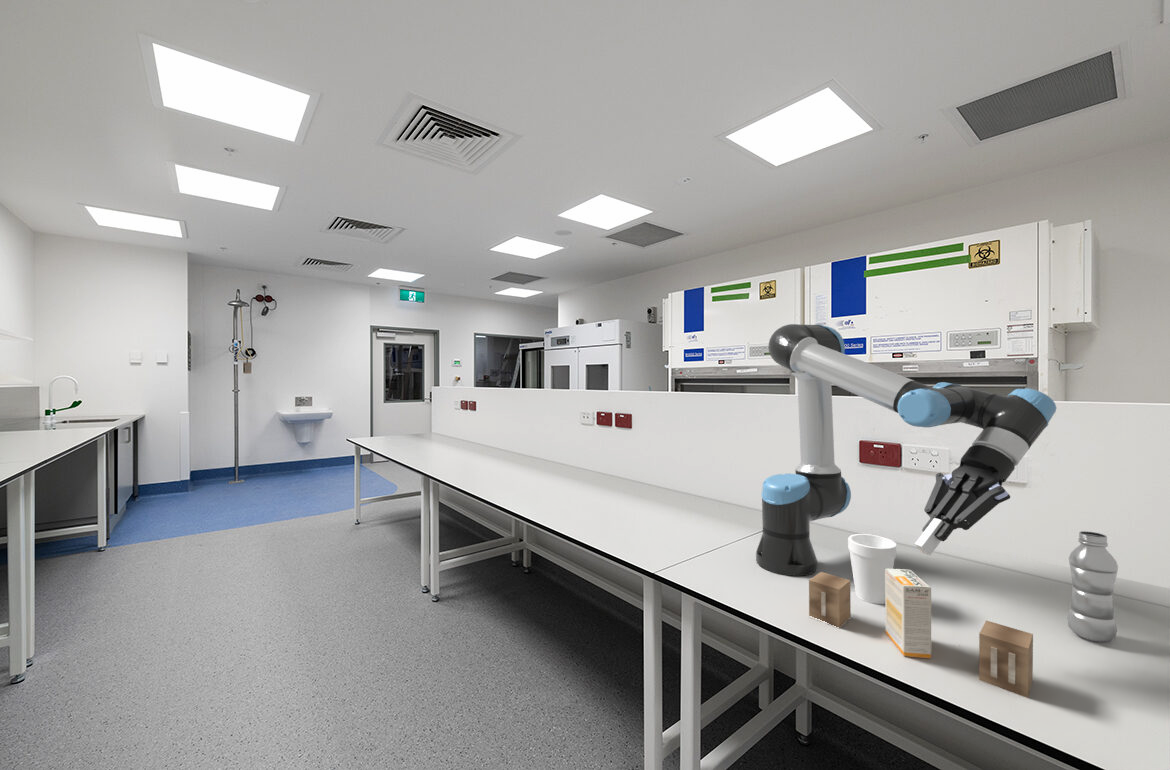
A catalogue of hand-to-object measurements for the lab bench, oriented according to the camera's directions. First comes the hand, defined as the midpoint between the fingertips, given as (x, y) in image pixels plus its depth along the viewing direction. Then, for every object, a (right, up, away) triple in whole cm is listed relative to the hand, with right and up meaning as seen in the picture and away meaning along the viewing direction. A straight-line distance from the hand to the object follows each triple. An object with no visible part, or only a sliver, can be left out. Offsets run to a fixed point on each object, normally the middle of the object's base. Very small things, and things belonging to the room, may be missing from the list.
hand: (922, 549), depth 89 cm
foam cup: (+2, -18, +19) cm, 26 cm away
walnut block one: (-12, -18, +11) cm, 24 cm away
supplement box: (-2, -18, +1) cm, 19 cm away
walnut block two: (+7, -18, -10) cm, 22 cm away
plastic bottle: (+34, -18, +2) cm, 38 cm away
